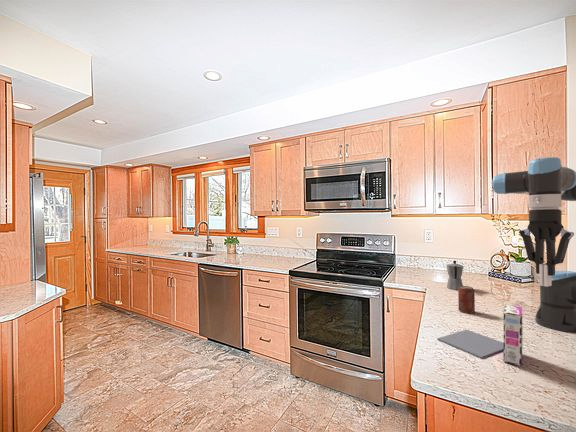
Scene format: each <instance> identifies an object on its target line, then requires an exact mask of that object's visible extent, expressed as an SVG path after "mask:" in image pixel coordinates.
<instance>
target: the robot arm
mask: <svg viewBox="0 0 576 432" xmlns="http://www.w3.org/2000/svg"><path fill="white" fill-rule="evenodd" d="M561 161H562V160H561V158H560V157H556V156H553V157H551V156H550V157H547V156H546V157H541V158H535V159H531V160H530V161H529V163H528V166H527V167H528V169H527V170H523V171H522V170H521V171H515V172H514V171H513V172H503V173H497V174H496V175H495V176H493V178H492V182H491V186H492V190H493V192H494V193H496V194H500V195H506V194H507V195H508V194H518V195H519V194H520V195H528V208H529V210H528V221H529V222H528V225H527V228H525V229H522V230H519V232H518V233H519V234H520V237H521V238H522V241H523V244H524V250H525V251H526V256H527V260H528V261H530V262H534V264H535V272H536V274H537V275H538V276H539V300H540V301H539V302H540V304H539V306H538V309H537V311H536V313H535V316H534V317H535V318H534V319H535V323H536V324H538V325H540V326H542V327H544V328H545V327H546V328H548V329H551V330H557V331H561V332H567V333H568V332H569V333H576V271H570V270H556V266H557V265H560V264H563V263H564V261H565V258H566V254H567V251H568V248H569V243H570V240H571V239H572V238H573V237H574V236H575V233H574V232H573V231H569V230H566V229H565V227H564V226H563V223H562V221H563V220H562V219H563V218H562V215H563V214H562V210H561V209H560V208H561V207H563V206H562V201H568V202H569V201H570V202H576V171H575V170H574V169H571V168H569V167H566V166H563V165H562V162H561ZM531 234H532V236H533V237H534V242H535V243H533V240H532V239H533V238H532V236H531ZM558 236H560V237H561V238H560V239H559V243H558V246H557V250H556V239H557V237H558ZM534 246H535V247H534ZM545 249H546V250H545ZM545 251H546V261H545Z"/></svg>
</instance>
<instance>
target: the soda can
mask: <svg viewBox="0 0 576 432" xmlns="http://www.w3.org/2000/svg"><path fill="white" fill-rule="evenodd" d="M457 291H458V293H457V295H458V299H457V300H458V311H459V312H461V313H464V314H470V315H471V314H474V313H475V311H476V309H475V308H476V304H475V301H476V300H475V299H476V297H475V296H476V295H475V293H476V292H475V289H474V287H472V286H469V285H468V286H467V285H463V286H460V287H459V288H458V290H457Z"/></svg>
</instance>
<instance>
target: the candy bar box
mask: <svg viewBox="0 0 576 432" xmlns="http://www.w3.org/2000/svg"><path fill="white" fill-rule="evenodd" d="M503 309H504V310H503V343H504V351H503V360H502V361H503V362H504V363H506V364H510V365H513V366H518V367H522V365H523V342H524V341H523V339H524V338H523V334H524V333H523V325H524V323H523V307H522V306H517V305H511V304H510V305H509V304H505V305H504V308H503Z"/></svg>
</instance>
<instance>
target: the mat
mask: <svg viewBox="0 0 576 432" xmlns="http://www.w3.org/2000/svg"><path fill="white" fill-rule="evenodd" d="M436 340H437V341H439V342H442V343H443V342H444V343H443V344H446V345H449V346H451V347H452V348H456V349H457V348H458V350H460V351H462V352H464V353H467V354H469V355H471V356H474V357H476V358H479V359H484V358H487V357H490V356H493V355H495V354H497V353H501V352H504V341H500V340H497V339H494V338H491V337H488V336H486V335H482V334H480V333H477V332H474V331H473V330H469V329H465V330H464V329H463V330H461V331H457V332H455V333H454V332H453V333H452V334H451V333H450V334H447V335H443V336H440V337H437V339H436Z"/></svg>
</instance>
